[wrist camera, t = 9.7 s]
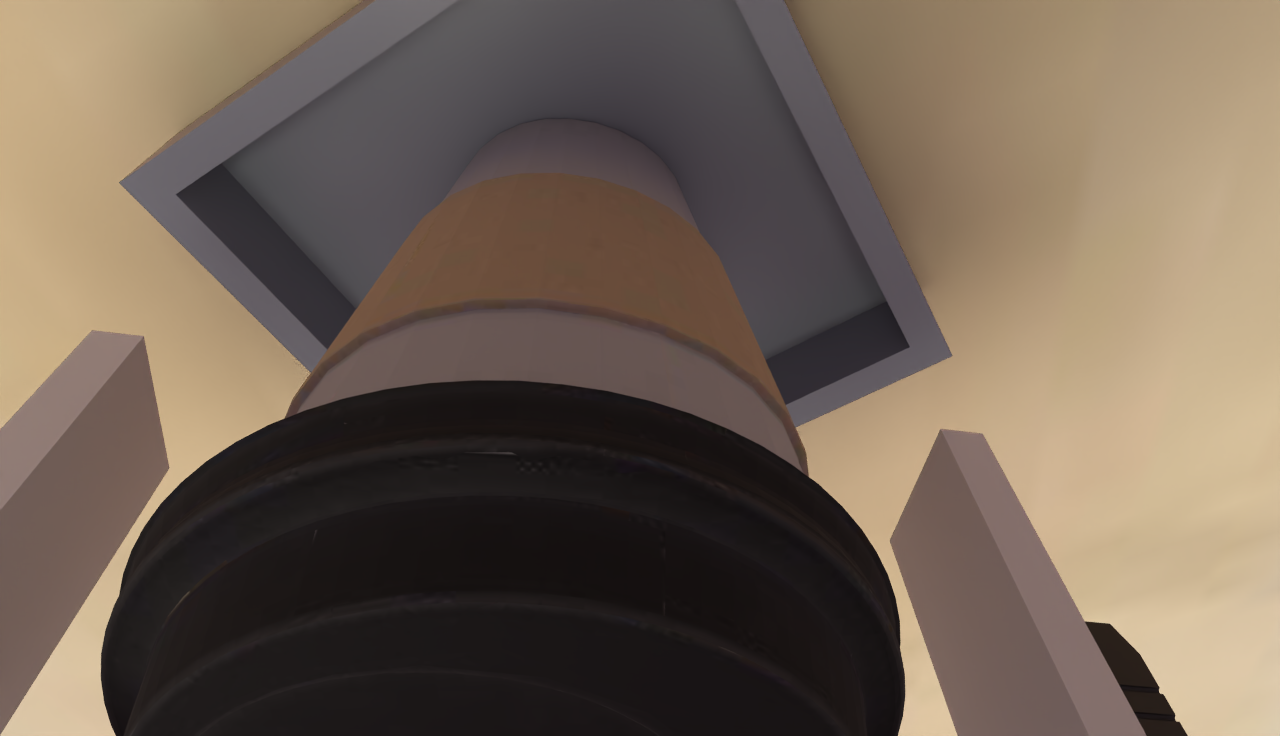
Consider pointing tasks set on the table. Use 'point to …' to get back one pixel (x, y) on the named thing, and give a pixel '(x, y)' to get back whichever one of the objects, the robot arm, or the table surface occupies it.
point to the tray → (534, 90)
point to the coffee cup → (518, 501)
